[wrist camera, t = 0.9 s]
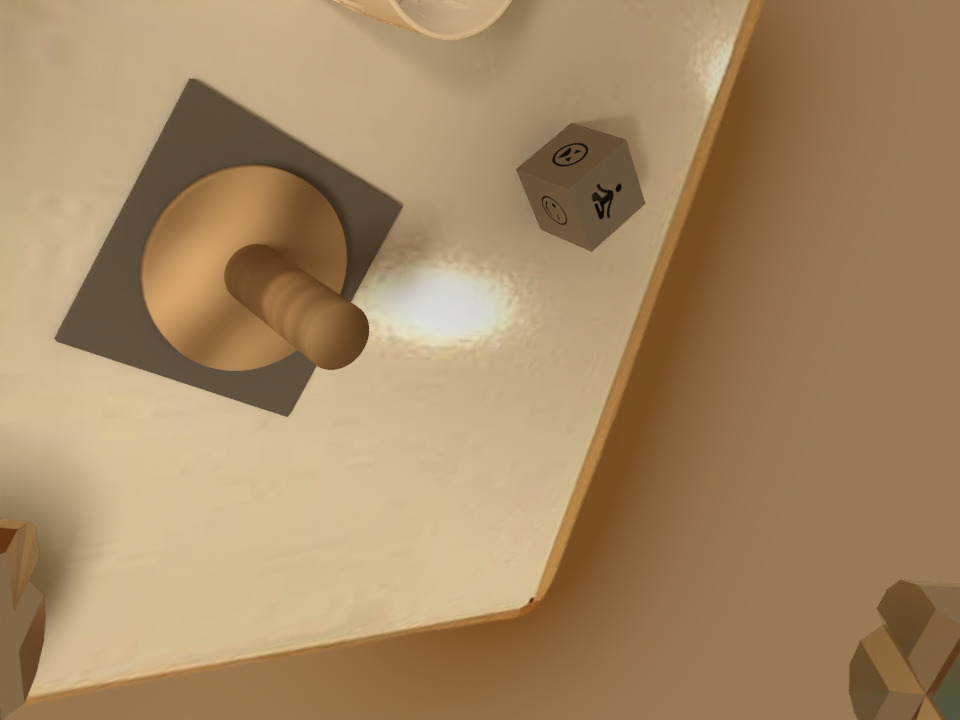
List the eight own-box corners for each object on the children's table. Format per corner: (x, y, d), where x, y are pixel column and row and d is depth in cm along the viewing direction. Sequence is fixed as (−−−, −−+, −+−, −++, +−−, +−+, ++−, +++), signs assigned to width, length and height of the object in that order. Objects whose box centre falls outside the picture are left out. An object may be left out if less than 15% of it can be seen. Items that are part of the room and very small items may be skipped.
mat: (54, 338, 44) (56, 341, 43) (189, 78, 43) (193, 80, 42) (284, 414, 53) (287, 417, 53) (398, 204, 53) (402, 206, 52)
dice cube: (515, 169, 57) (568, 189, 54) (570, 123, 58) (625, 139, 55) (540, 229, 60) (591, 251, 57) (591, 184, 62) (645, 203, 58)
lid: (100, 324, 44) (174, 411, 37) (205, 123, 44) (300, 173, 37) (279, 387, 52) (368, 469, 45) (370, 218, 51) (475, 274, 44)
